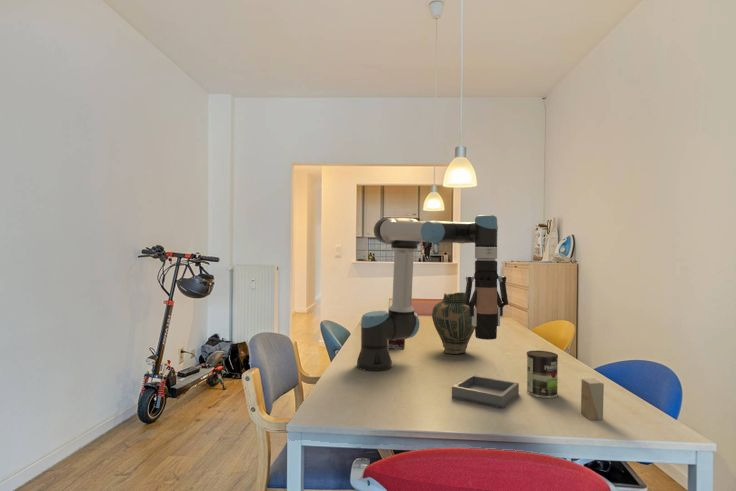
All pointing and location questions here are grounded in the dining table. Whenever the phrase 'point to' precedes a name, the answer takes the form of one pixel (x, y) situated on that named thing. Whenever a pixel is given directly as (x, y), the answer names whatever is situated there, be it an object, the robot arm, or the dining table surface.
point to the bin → (485, 391)
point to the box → (592, 399)
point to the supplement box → (397, 344)
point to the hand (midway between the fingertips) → (485, 325)
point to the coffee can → (542, 374)
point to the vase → (453, 322)
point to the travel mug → (486, 309)
